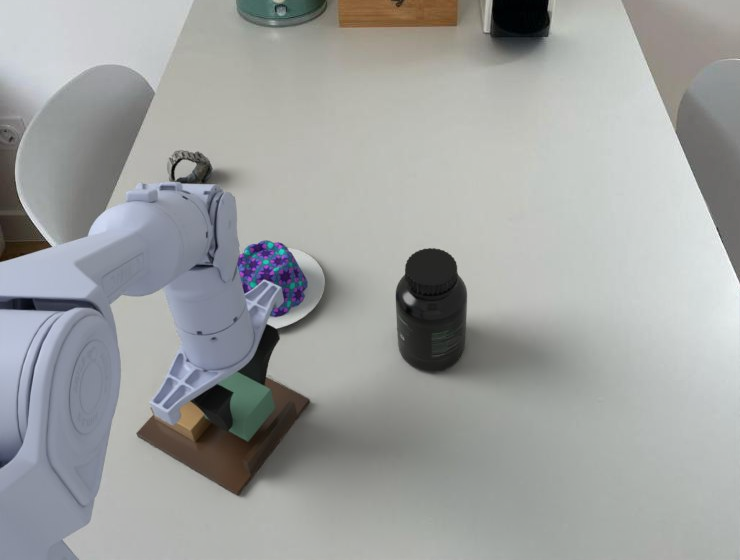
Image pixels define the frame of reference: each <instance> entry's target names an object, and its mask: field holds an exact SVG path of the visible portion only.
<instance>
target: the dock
mask: <svg viewBox="0 0 740 560" xmlns="http://www.w3.org/2000/svg"><path fill="white" fill-rule="evenodd" d="M265 387H267V388H269V389H271V392H272V397H273V401H274V405H275V409H274V410H273V411H272V413H271V414H270V415H269V416H268V418H267V419H266V420H265V421H264V423H263V424H262V425H261V426H260V428H259V429H258V430H257V431H256V433H255V434H254V435H253V436H252V438H251V439H250V440H249V441H246V440H244V439H242V438H240V437H239V436H237V435H235V434H233V433H232V432H230V431H225V430H224V429H222V428H220V427H218V426H216V425H215V424H213V423H211V422H210V420H208V419H206V418H205V416H204V413H203V412H202V411H201V410H200V409H199V408H198V407H197V406H196V405H195V404H193V403H192V402H190V401H189V402H188V403H186V404H185V405H183V406H182V407H181V408H180V413H181V418H180V420H179V421H178V422H177V423H176V424H175V425H174V426H172V425H170V424H168V423H166V422H165V421H163V420H161V419H160V418H158V417H156V416H155V415H154V412H153V410H152V408H151V407H150V410H151V412H152V416H151V417H150V418H149V419H148V420H147V421H146V422H145V423H143V425H142V426H141V427H140V428H139V430H137V432H136V433H135V434H136V436H137V437H138V438H139V439H141V440H142V441H144V442H146V443H147V444H149V445H151V446H152V447H154V448H156V449H157V450H159V451H161V452H162V453H164V454H166V455H167V456H169V457H171V458H173V459H175V460H176V461H178V462H179V463H181V464H183V465H185V466H186V467H188V468H190V469H191V470H193V471H194V472H196V473H198V474H200V475H201V476H203V477H205V478H206V479H208V480H210V481H212V482H213V483H215V484H217V485H218V486H219V487H221V488H223V489H225V490H227V491H228V492H229V493H231V494H233V495H235V496H237V497H239V496H240V494H241V493H242V492H243V491H244V490H245V488H246V487H247V486H248V484H249V483H250V481H252V479H253V477H254V476H255V475H256V474H257V472H258V471H259V470H260V468H261V467H262V466H263V464H264V463H265V462H266V461H267V459H268V458H269V456H270V455H271V454H272V453H273V451H274V450H275V449H276V448H277V446H278V445H279V444H280V443H281V441H282V440H283V438H284V437H285V436H286V435H287V434H288V432H289V431H290V430H291V428H292V427H293V426H294V424H295V423H296V421H297V420H298V419H299V418H300V416H301V415H302V414H303V412H304V411H305V410H306V408H308V406H309V405H310V403H311V400H310V398H308V397H307V396H305V395H302V394H301V393H298V392H296V391H295V390H293V389H291V388H289V387H287V386H285V385H283V384H281V383H279V382H278V381H275V380H273V379H271V378H270V377H268V376H266V380H265Z"/></svg>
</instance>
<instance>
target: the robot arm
mask: <svg viewBox="0 0 740 560" xmlns="http://www.w3.org/2000/svg"><path fill="white" fill-rule="evenodd" d="M240 246H241V245H240V241H239V236H238V210H237V201H236V197H235V196H234V195H233V194H232V192H230V191H224V189H223V188H222V186H221V185H220V184H215V183H214V184H212V183H211V184H210V183H203V184H181V183H180V182H170V181H164V182H152V183H149V184H147V183H143V181H140V182H138V183H137V185H135V188H134V189H130V190H127V191H126V193H125V202H122V203H119V204H116V205H113V206H111V207H110V208H108V209H106V210H105V211H103V212H102V213H101V214H100V215H99V216H98V217H96V219H95V220H94V222H93V223H92V224H91V227H90V228H89V232H88V234H87V236H85V237H84V236H83V237H81V238H78V239H74V240H70V241H67V242H65V243H64V242H63V243H60V244H58V245H57V244H56V245H54V246H50V247H48V248H44V249H41V250H37V251H34V252H31V253H27V254H24V255H21V256H18V257H15V258H11V259H8V260H3V261H0V560H80V559H79V557H78V556H77V555H76V554H75V553H74V551H73V550H72V549H71V548H70V547H69V546H68V544H67V543H65V541H64V539H66V538H67V537H69V536H71V535H72V534H74V533H76V532H78V531H79V530H81V529H83V528H84V527H86V526H88V525H89V524H90V522H91V520H92V515H93V510H94V505H95V500H96V497H97V495H98V493H99V491H100V488H101V487H100V486H101V482H102V478H103V477H102V476H103V471H104V467H105V461H106V455H107V449H108V445H109V440H110V435H111V429H112V424H113V419H114V417H115V413H116V409H117V406H118V401H119V395H120V390H121V389H120V388H121V378H122V364H121V363H122V362H121V354H120V353H121V352H120V348H119V339H118V333H117V326H116V321H115V317H114V312H113V310H112V307H111V305H112V304H113V303H114V302H116V300H117V299H119V298H120V297H121V296H127V297H133V298H134V297H146V296H150V295H153V294H155V293H156V292H159V291H160V290H163V293H164V296H165V299H166V302H167V305H168V308H169V311H170V313H171V316H172V319H173V323H174V325H175V327H176V333H177V335H178V337H179V339H180V343H181V344H180V345H179V348H178V350H177V352H176V354H175V356H174V358H173V361H172V362H171V365H170V366H169V369H168V371H167V374H166V375H165V377H164V380H163V381H162V383H161V385H160V387H159V389H158V390H157V392H156V393H155V395H154V396H153V397H152V398H151V399H150V400H149V405H150V409H151V408H152V410H153V412H154V415H155V416H156V417H158V418H160V419H161V420H163V421H165V422H166V423H168V424H170V425H172V426H174V425H175V424H176V423H177V422H178V421H179V420H180V418H181V413H180V408H181V407H182V406H183V405H185V404H186V403H188V402H189V401H190V402H192V403H193V404H195V405H196V406H197V407H198V408H199V409H200V410H201V411H202V412H203V413H204V414H205V415H206V416H207V418H208V419H209V420H210V422H211V423H213V424H215V425H216V426H218V427H220V428H222V429H224V430H225V431H229V429H230V428H231V427H232V425H233V418H232V414H231V410H230V401H231V397H232V395H233V393H234V392H232V391H230V390H228V389H226V388H224V387H223V386H221V385H219V384H218V383H219V382H221V381H222V380H224V379H226V378H227V377H229V376H230V375H232V374H234V373H235V372H239V373H240V374H242V375H244V376H246V377H248V378H250V379H252V380H254V381H256V382H258V383H260V384H262V385H264V386H265V380H266V377H267V374H268V368H269V363H270V360H271V358H272V357H271V356H272V354H273V352H274V350H275V348H276V346H277V345H278V343H279V341H280V339H281V338H280V334H279V333H280V332H279V330H278V328H277V329H276V328H274V327H272V326H270V325H268V324H267V321H268V319H269V316H270V313H271V311H272V308H273V307H274V308H278V307H280V306H281V304H282V303H283V302H284V298H283V293H282V287H280V286H278V285H276V284H273V283H271V282H269V281H267V280H263V281H262V282H261V283H260V284H258V285H257V286H256V287H255V288H254V289H252V290H251V291H249V292H247V293H246V294H244V291H243V287H242V282H241V278H240V274H239V270H238V266H237V262H238V258H239V255H240V254H241V251H240ZM152 410H151V411H152Z"/></svg>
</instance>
